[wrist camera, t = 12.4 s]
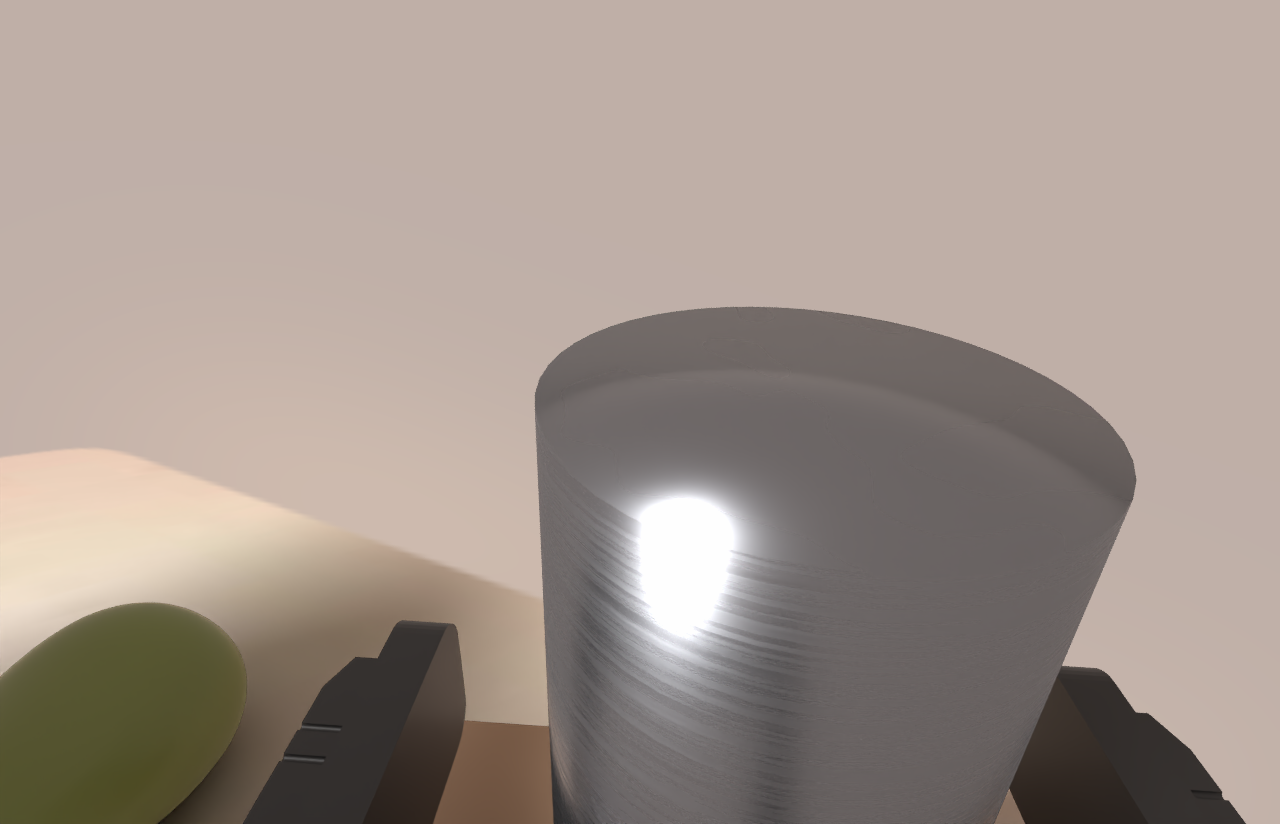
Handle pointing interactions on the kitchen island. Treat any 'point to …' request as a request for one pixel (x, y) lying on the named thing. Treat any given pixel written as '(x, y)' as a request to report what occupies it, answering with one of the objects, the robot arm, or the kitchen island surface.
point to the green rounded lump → (117, 716)
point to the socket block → (499, 776)
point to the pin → (808, 567)
